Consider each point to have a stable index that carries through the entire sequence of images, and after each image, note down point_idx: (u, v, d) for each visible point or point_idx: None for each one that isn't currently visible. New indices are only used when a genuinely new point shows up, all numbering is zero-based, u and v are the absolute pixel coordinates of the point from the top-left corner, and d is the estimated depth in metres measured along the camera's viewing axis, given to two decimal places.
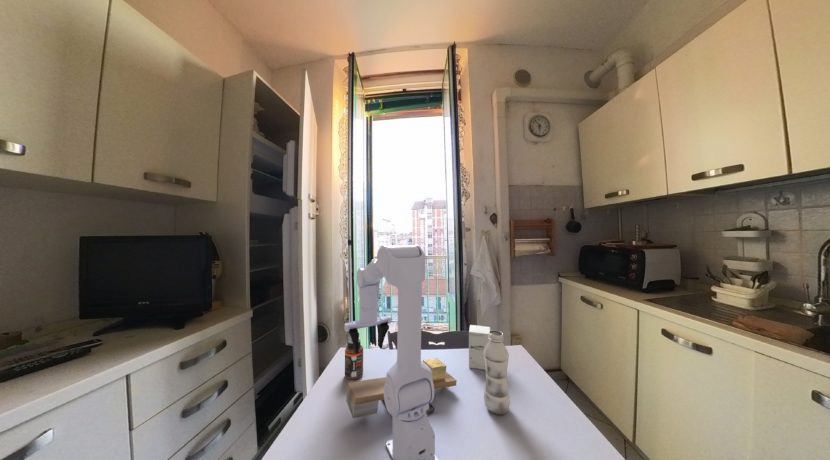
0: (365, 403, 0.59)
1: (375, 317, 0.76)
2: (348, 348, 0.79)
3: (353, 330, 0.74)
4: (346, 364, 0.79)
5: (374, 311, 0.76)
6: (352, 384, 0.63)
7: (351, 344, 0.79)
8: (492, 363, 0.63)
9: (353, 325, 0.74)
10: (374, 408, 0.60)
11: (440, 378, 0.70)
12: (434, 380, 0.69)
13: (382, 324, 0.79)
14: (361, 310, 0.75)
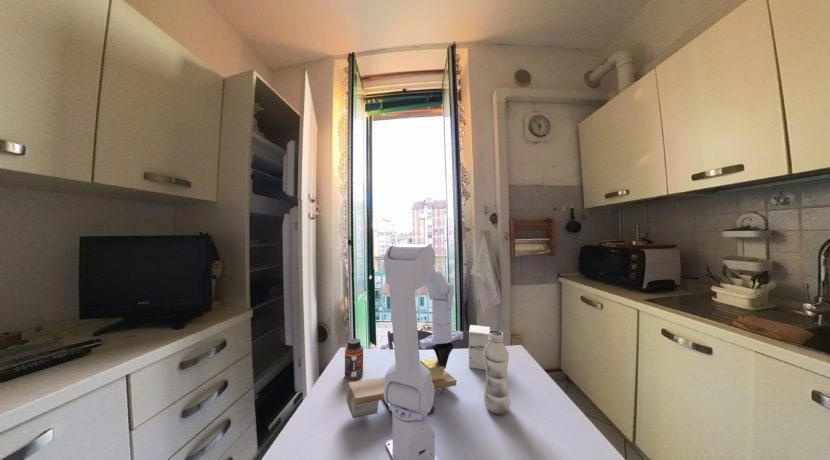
0: (365, 403, 0.59)
1: (450, 333, 0.72)
2: (348, 348, 0.79)
3: None
4: (346, 364, 0.79)
5: (450, 327, 0.72)
6: (352, 384, 0.63)
7: (351, 344, 0.79)
8: (492, 363, 0.63)
9: (429, 342, 0.70)
10: (374, 408, 0.60)
11: (438, 378, 0.70)
12: (432, 380, 0.69)
13: None
14: (436, 326, 0.72)
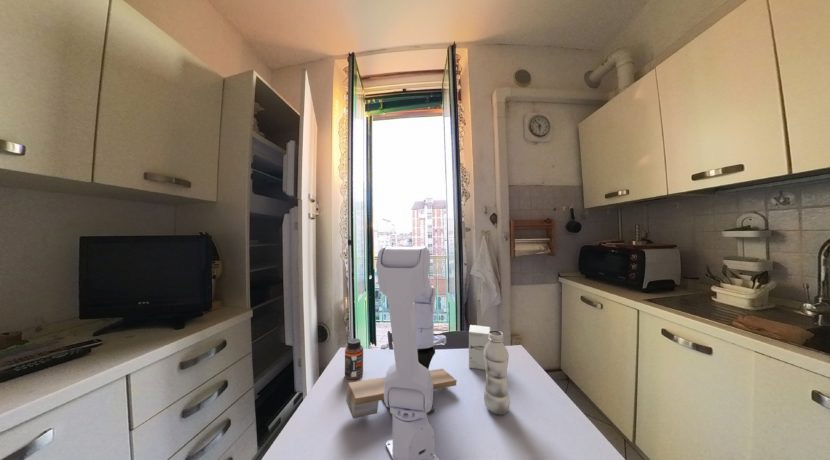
0: (365, 404, 0.59)
1: (432, 338, 0.69)
2: (348, 348, 0.79)
3: None
4: (346, 364, 0.79)
5: (431, 331, 0.69)
6: (352, 384, 0.63)
7: (351, 344, 0.79)
8: (492, 363, 0.63)
9: None
10: (374, 408, 0.60)
11: None
12: None
13: None
14: (417, 330, 0.68)
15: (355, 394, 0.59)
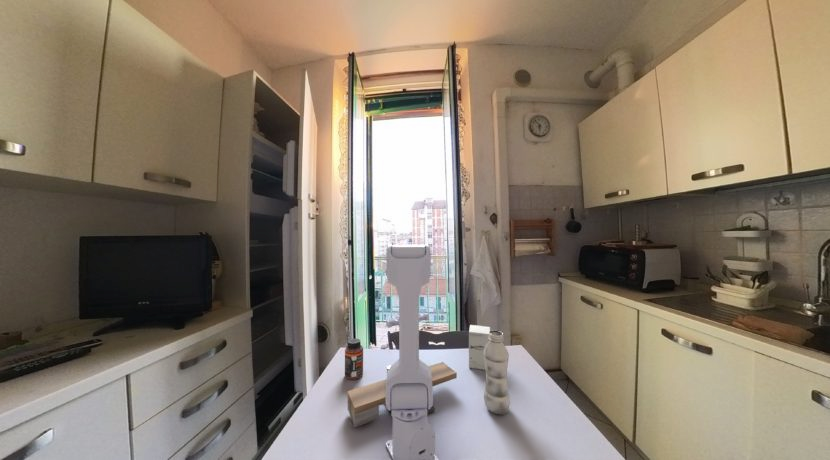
0: (365, 411, 0.59)
1: None
2: (348, 348, 0.79)
3: None
4: (346, 364, 0.79)
5: None
6: (351, 392, 0.63)
7: (351, 344, 0.79)
8: (492, 363, 0.63)
9: (395, 321, 0.76)
10: (375, 414, 0.60)
11: None
12: None
13: None
14: None
15: (354, 403, 0.59)
